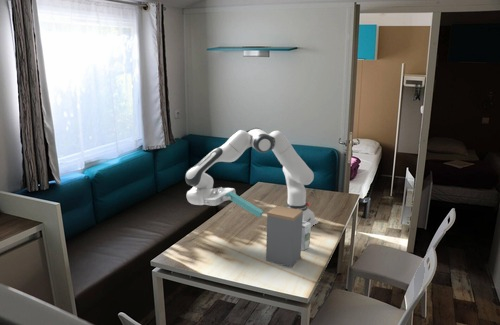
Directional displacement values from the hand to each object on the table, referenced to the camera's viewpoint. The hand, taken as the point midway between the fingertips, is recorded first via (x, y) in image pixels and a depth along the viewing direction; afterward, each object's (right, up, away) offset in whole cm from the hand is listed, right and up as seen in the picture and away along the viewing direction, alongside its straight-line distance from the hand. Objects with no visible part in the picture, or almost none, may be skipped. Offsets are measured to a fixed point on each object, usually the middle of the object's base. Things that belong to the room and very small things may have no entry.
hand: (233, 196), depth 225 cm
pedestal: (+26, -31, -7) cm, 41 cm away
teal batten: (+5, -5, -2) cm, 8 cm away
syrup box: (+37, -28, +6) cm, 47 cm away
